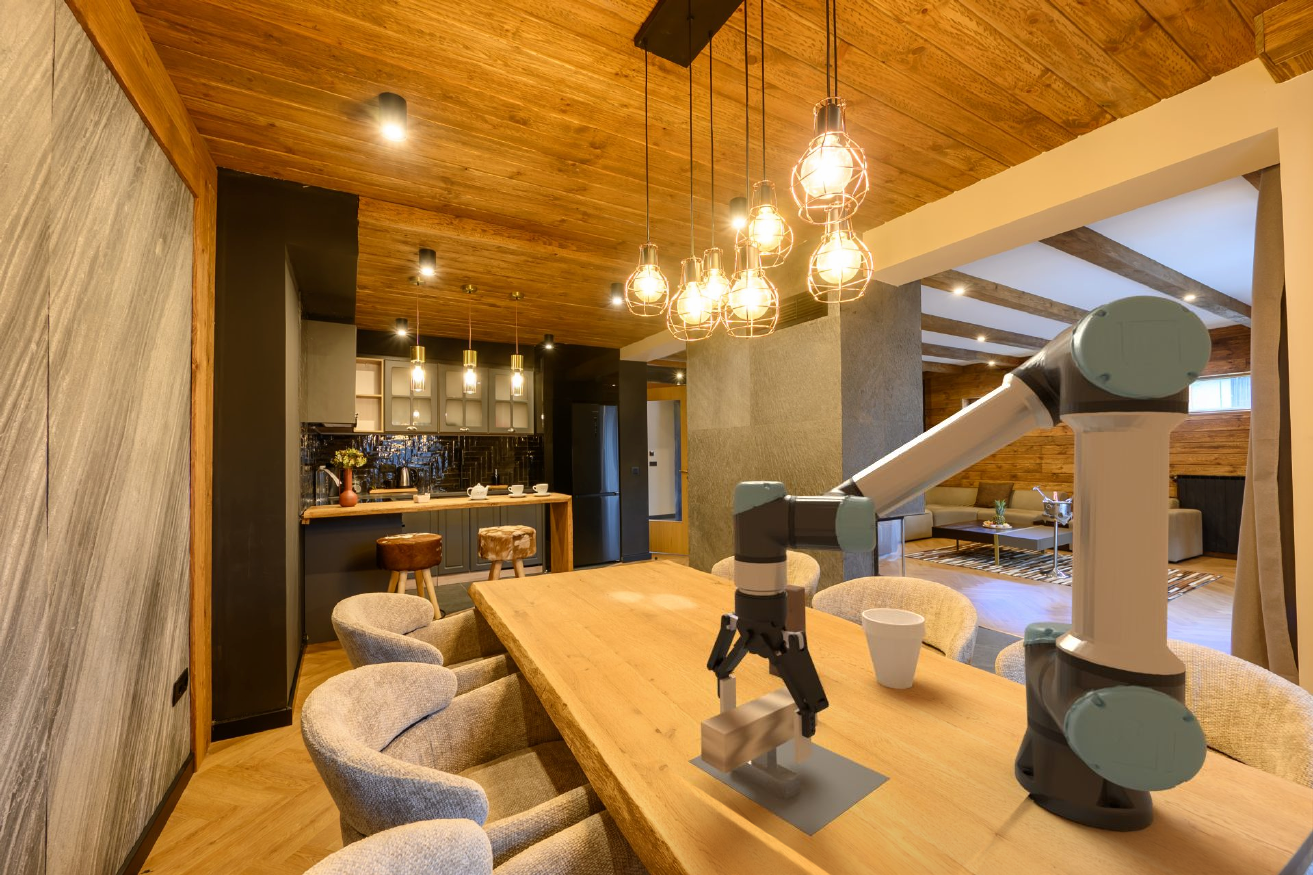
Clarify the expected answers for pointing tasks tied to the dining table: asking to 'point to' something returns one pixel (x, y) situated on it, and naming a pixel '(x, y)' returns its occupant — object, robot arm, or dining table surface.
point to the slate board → (809, 786)
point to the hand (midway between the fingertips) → (763, 739)
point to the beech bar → (748, 730)
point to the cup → (894, 644)
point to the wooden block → (793, 616)
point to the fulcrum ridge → (771, 776)
